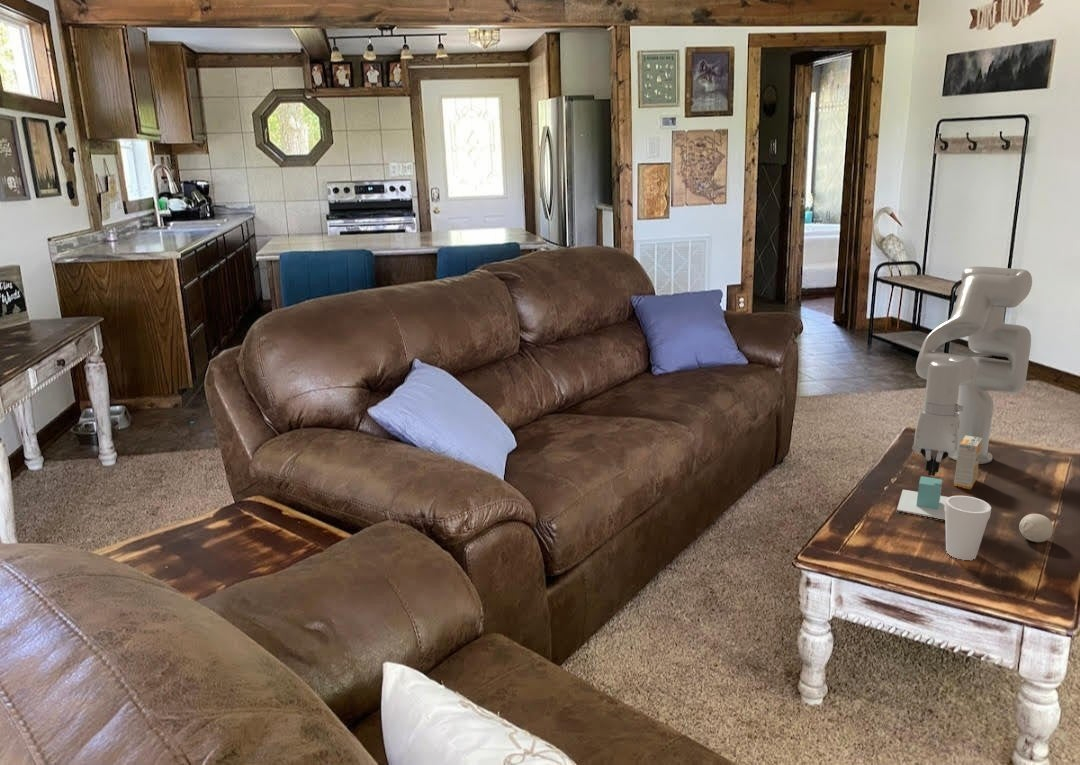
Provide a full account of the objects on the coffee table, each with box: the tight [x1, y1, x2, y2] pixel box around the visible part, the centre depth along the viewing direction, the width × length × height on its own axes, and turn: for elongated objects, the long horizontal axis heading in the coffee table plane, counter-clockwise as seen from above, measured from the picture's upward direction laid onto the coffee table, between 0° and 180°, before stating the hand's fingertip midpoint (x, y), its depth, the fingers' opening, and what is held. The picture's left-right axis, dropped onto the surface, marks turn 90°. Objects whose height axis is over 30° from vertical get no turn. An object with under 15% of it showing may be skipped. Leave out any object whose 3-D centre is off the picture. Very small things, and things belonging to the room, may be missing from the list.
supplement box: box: [953, 435, 982, 490], centre depth 223 cm, size 8×5×13 cm, turn 143°
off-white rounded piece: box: [1018, 513, 1054, 543], centre depth 191 cm, size 7×7×7 cm
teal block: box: [916, 475, 943, 510], centre depth 210 cm, size 5×5×7 cm
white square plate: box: [896, 489, 949, 520], centre depth 210 cm, size 14×14×6 cm
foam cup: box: [944, 495, 992, 561], centre depth 185 cm, size 10×9×13 cm
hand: (931, 473), depth 208 cm, fingers closed
